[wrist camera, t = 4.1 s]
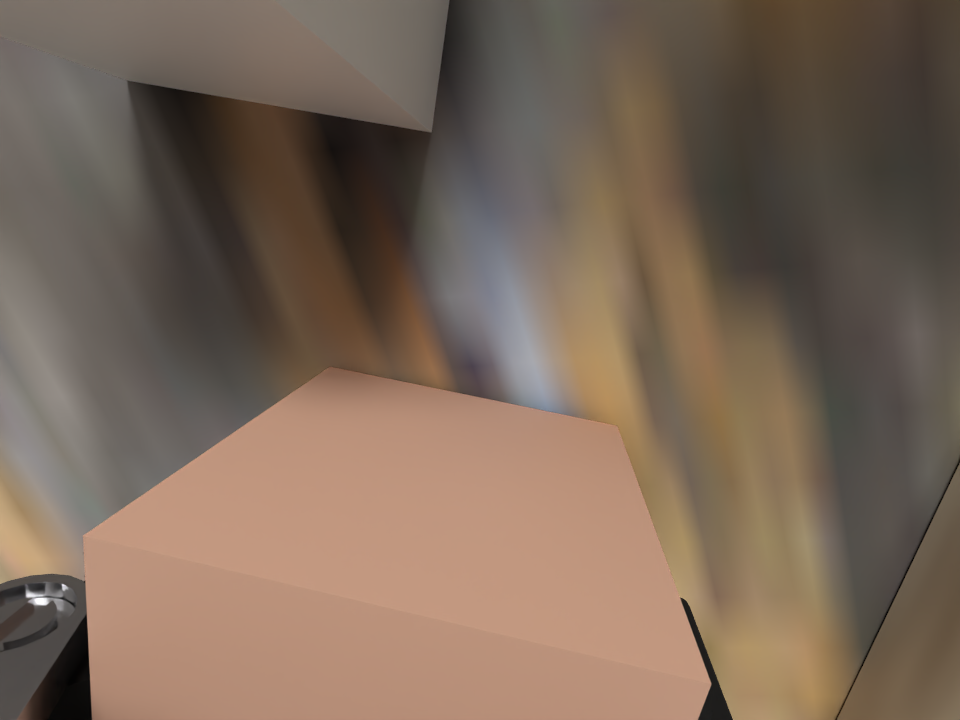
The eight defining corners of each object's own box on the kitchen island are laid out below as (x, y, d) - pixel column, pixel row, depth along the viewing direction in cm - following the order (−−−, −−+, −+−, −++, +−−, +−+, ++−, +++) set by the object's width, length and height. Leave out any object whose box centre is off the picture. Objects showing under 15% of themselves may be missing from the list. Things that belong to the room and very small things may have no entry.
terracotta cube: (617, 425, 9) (711, 683, 4) (553, 660, 11) (564, 1068, 6) (329, 366, 10) (81, 535, 5) (306, 602, 11) (101, 933, 6)
